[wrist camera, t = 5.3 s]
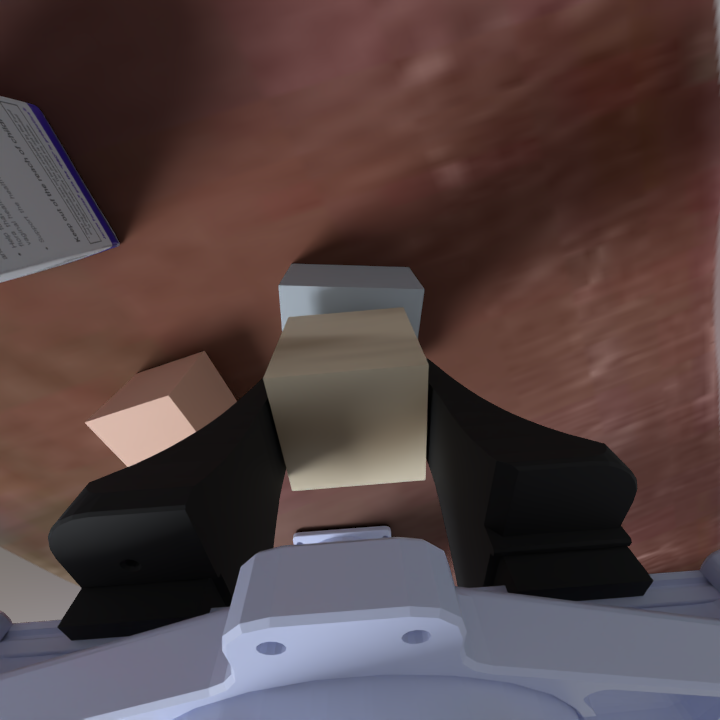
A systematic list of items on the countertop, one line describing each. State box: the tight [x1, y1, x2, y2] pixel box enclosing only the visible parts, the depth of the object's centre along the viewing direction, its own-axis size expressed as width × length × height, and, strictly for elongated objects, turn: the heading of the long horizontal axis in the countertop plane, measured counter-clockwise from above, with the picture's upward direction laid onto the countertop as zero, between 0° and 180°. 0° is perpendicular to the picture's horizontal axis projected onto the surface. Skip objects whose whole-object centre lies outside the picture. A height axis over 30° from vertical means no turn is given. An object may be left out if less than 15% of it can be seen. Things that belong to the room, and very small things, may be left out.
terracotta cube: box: [85, 351, 237, 467], centre depth 18 cm, size 4×4×4 cm
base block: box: [279, 264, 424, 339], centre depth 17 cm, size 6×6×4 cm
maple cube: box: [263, 307, 429, 491], centre depth 12 cm, size 4×4×4 cm
